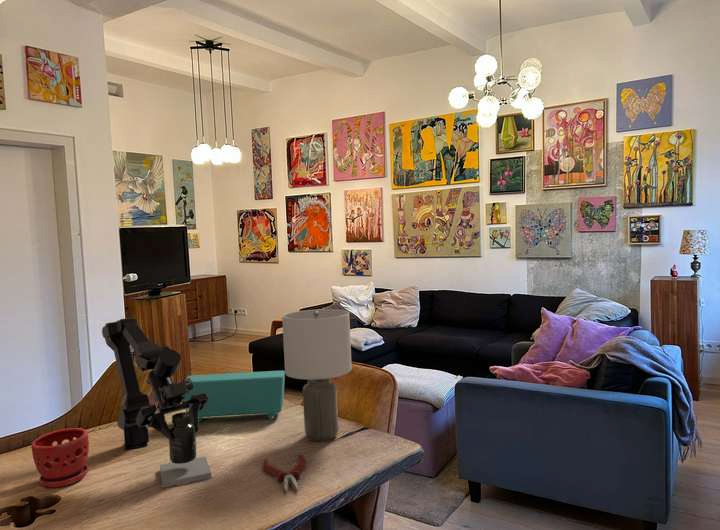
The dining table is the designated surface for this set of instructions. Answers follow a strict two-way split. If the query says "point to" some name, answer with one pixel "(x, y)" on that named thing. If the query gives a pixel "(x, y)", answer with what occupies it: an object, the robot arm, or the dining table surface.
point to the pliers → (283, 476)
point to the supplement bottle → (182, 439)
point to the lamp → (318, 364)
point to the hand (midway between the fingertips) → (184, 435)
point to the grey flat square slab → (185, 472)
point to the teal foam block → (239, 393)
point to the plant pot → (61, 456)
